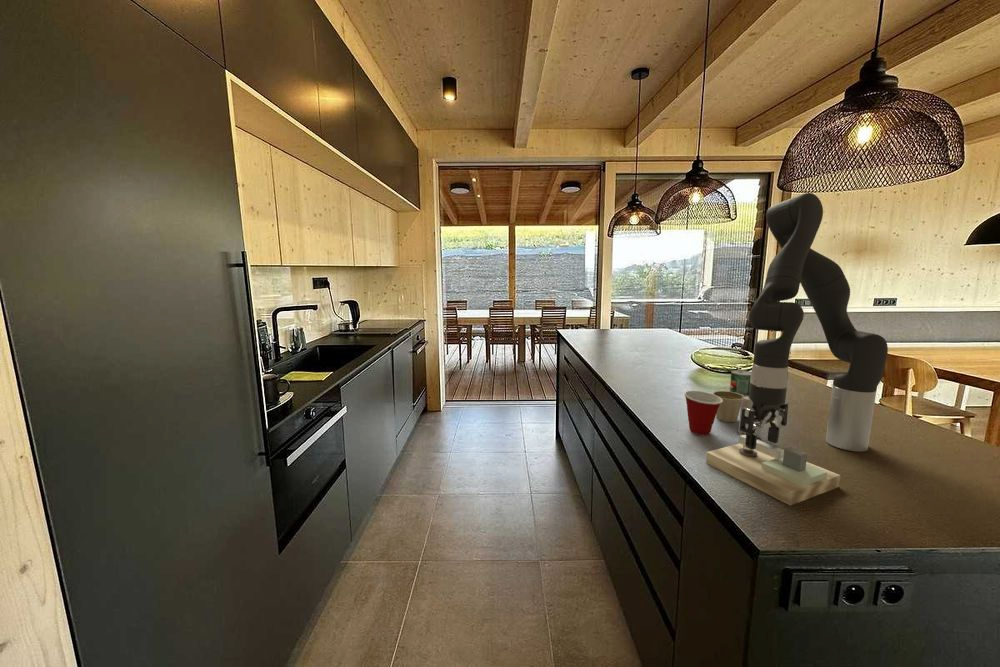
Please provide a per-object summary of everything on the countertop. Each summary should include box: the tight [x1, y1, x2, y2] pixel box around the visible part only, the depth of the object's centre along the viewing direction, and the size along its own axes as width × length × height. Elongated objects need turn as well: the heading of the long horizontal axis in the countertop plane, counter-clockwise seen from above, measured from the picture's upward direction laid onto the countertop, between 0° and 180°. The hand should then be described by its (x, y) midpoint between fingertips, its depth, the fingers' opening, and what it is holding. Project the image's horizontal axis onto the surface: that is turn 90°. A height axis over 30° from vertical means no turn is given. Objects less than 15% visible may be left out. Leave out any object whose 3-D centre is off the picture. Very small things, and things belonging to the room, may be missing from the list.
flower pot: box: [712, 390, 743, 423], centre depth 133 cm, size 9×9×9 cm
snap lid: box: [762, 447, 827, 487], centre depth 92 cm, size 9×9×6 cm
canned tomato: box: [729, 369, 751, 396], centre depth 153 cm, size 8×8×11 cm
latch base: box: [705, 442, 841, 506], centre depth 97 cm, size 18×21×4 cm
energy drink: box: [738, 396, 761, 439], centre depth 119 cm, size 5×5×12 cm
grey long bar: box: [738, 435, 784, 459], centre depth 99 cm, size 2×10×4 cm, turn 23°
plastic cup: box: [684, 390, 723, 436], centre depth 122 cm, size 11×11×12 cm
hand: (761, 444), depth 98 cm, fingers open, 8 cm apart
